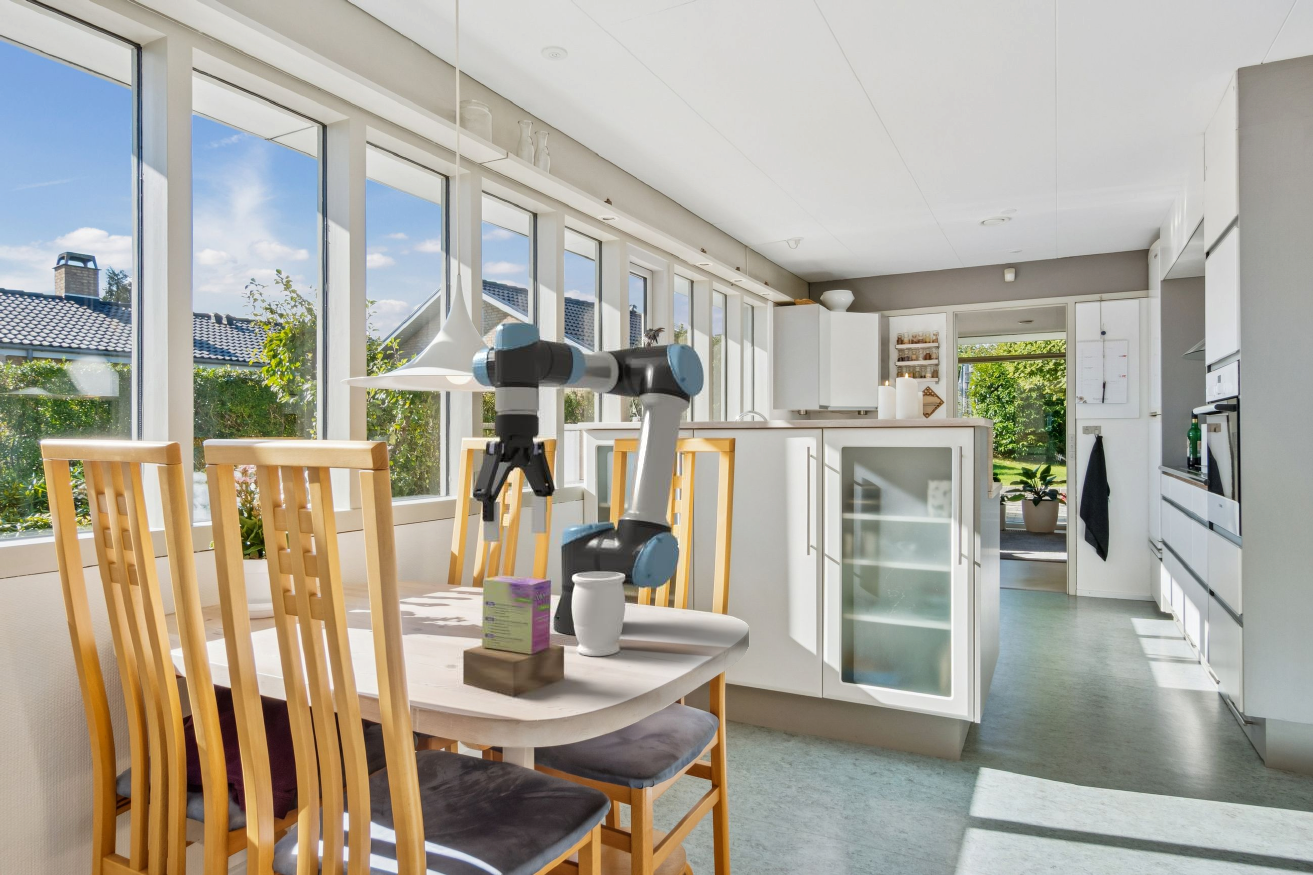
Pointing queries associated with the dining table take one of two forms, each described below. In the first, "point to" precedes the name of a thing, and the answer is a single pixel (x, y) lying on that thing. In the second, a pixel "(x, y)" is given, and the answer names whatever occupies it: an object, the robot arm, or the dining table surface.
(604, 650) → the jar
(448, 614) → the dining table surface
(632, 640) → the dining table surface
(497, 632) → the box
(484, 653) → the base block
